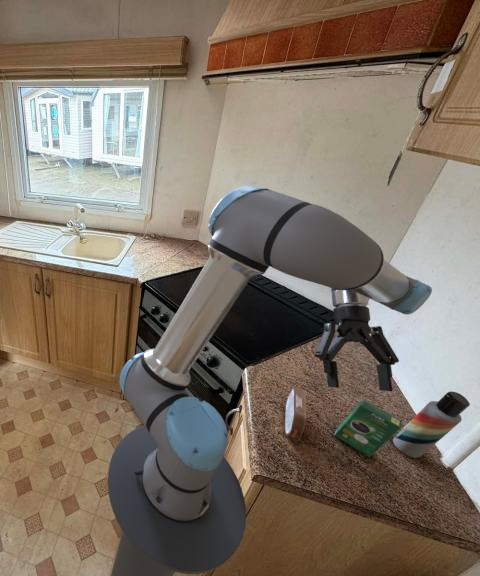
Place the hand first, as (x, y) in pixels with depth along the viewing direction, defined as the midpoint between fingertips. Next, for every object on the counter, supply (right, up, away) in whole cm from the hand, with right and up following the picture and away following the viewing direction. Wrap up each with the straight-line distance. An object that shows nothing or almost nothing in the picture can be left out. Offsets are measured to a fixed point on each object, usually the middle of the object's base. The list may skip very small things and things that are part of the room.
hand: (359, 389), depth 79 cm
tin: (-15, -11, +5) cm, 19 cm away
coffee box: (-1, -15, +1) cm, 15 cm away
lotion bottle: (+13, -16, +1) cm, 20 cm away
